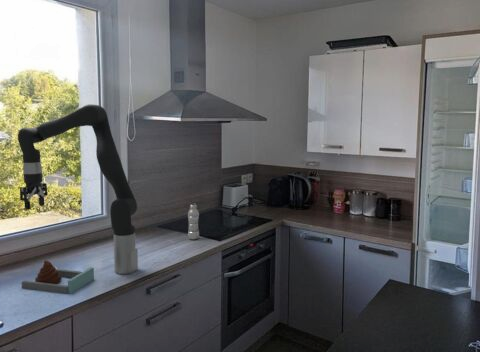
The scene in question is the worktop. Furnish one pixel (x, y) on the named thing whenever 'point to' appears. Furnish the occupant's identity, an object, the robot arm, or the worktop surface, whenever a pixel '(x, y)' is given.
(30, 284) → the channel
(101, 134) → the robot arm
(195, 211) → the plastic bottle
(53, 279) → the poop emoji
